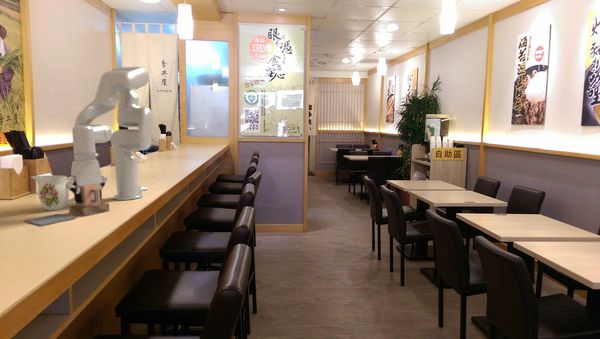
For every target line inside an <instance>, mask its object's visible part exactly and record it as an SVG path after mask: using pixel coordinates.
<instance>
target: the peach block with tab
mask: <svg viewBox="0 0 600 339" xmlns="http://www.w3.org/2000/svg"><path fill="white" fill-rule="evenodd" d="M79 193H80V194H81V200H82V203H81V204H78V203H76V204H77V206H79V207H84V208H86V207H91V206H96V205H101V202H102V201H101V200H100V189H99V184H95V185H89V186H83V187H82V188H81V190H80V192H79Z"/></svg>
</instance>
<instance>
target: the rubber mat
mask: <svg viewBox="0 0 600 339" xmlns="http://www.w3.org/2000/svg"><path fill="white" fill-rule="evenodd" d="M76 219H77V217H75V216H72V215H67V214H61V213H55V214H50V215H45V216H41V217H40V216H39V217H36V218H35V217H34V218H31V219H25V220H24V222H25V223H28V224H31V225H36V226H39V227H45V226H50V225H53V224H59V223H63V222H66V221H72V220H76Z"/></svg>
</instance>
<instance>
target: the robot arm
mask: <svg viewBox="0 0 600 339" xmlns="http://www.w3.org/2000/svg"><path fill="white" fill-rule="evenodd" d="M149 74H150V73H149V72H148V70H147V69H146V68H145V67H143V66H121V67H114V68H113V69H111V70H109V71H105V72H103V74H102V75H101V77H100V80H99V83H98V86H97V90H96V91H95V92H96V93H95V96H94V99H93V100H92V101H91V102H90V103H89V104H87V105H86V106H85V107H84V109H82V110H81V111H80V112H79V113H78V115H77V117H76V119H75V123H74V126H73V127H72V129H71V132H72V133H71V134H72V145H73V156H74V158H73V159H74V160H73V161H72V163H71V172H70V174H71V175H70V179H69V181H66V186H67V188H69V192H71V193H72V194H73V196H74V197H73V198H75V201H74V202H75V204H77V203H78V204H81V203H82V200H81V194H80V193H79V192H80V190H81V188H82V187H83V186H89V185H95V184H99V189H100V201H102V199H103V198H102V197H103V193H102V191H103V188H104V187H105V185H106V184H107V182H108V178H107V177H105V176H104V175H102V173H101V172H102V171H101V167H100V162H99V160H98V159H97V157H99V153H97V151H96V144H105V143H107V142H109V141H110V144H111V147H112V151H113V157H114V168H115V170H114V171H115V182H116V183H115V185H116V194H115V195H114V196H113V199H114V200H117V201H127V200H128V201H130V200H137V199H140V198H143V196H144V194H143V192H147V191H148V190H149V188H148V186H144V187H142V186H140V182H139V171H138V169H139V168H138V158H137V155H135V153H134V151H146V150H149V149H150V148H151V145H152V139H153V129H154V114H153V112H152V110H151V108H149V107H147V106H139V104H140V103H139V102H140V101H139V95H138V93H137V92H136V90H138V89H141V88H142V87H145V86H146V85H147V84H148V83H149V79H150V76H149ZM117 103H118V106H117ZM116 106H117V114H116V115H117V116H116V122H117V124H118V125H119V126H120V127H122V128H123V129H116V130H115V131H113V132H112V130H111V128H110V127H109V126H108V125H105V124H93V123H92V122H93V121H94V120H95V119H97V118H99V117H100V116H102V115H105V114H107V113H109V112H111V111H113V110H114V109H115V108H116ZM124 128H126V129H124ZM129 128H130V129H129ZM131 128H138V129H131Z"/></svg>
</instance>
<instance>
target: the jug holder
mask: <svg viewBox="0 0 600 339" xmlns="http://www.w3.org/2000/svg"><path fill="white" fill-rule="evenodd" d="M100 202H101V205H96V206H91V207H86V208H84V207H79V206H77V203H75V204H71V205H68V211H69V212H68V213H69V214H72V215H76V216H81V217H88V216H92V215H97V214H102V213H105V212H106V213H107V212H110V204H109V203H107V202H102V201H100Z"/></svg>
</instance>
